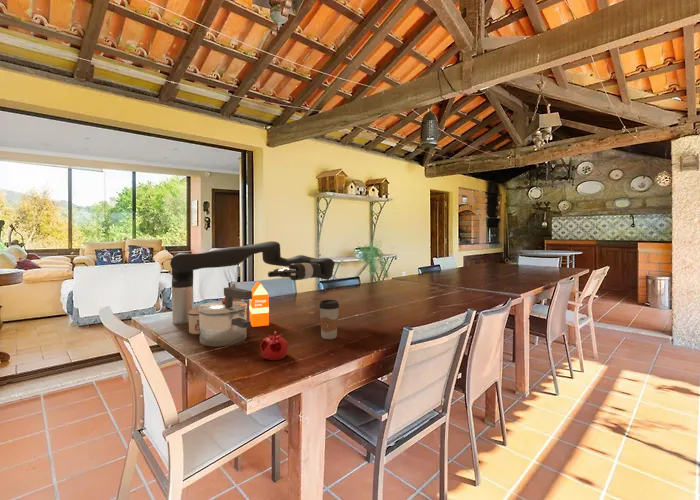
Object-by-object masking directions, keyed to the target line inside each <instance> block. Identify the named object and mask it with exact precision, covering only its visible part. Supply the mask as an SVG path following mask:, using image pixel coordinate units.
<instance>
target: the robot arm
mask: <svg viewBox="0 0 700 500" xmlns="http://www.w3.org/2000/svg"><path fill="white" fill-rule="evenodd" d="M260 253H262V261H263V262H264V263H265V264H267V265H270V266H279V267H283V268H276V269H273V270H272V271H268V272H267V277H269V278H273V277H274V278H289V279H290V280H292V281H301V280H307V279H312V278H317V279H321V280H326V281H328V280H330V279H332V277H333V273H334V269H335V261H334V260H333V259H332V258H330V257H329V258H328V257H324V258H323V257H322V258H317V257H311V256H308V255H303V254H302V255H299V254H297V255H295V256H293V257H289V258H284V257H282V256H281V255H282V254H281V244H280V242H278V241H272V240H271V241H270V240H269V241H263V242H260V243H253V244H250V245H249V244H248V245H240V246H231V247H222V248H218V249H217V248H216V249H212V250H208V251H206V252H205V251H204V252H201V253H200V252H199V253H187V252H178V253H176V254H175V255H173V256H172V257H171V259H170V265H169V266H170V268H171V269H172V271H171V273H172V274H171V300H172V301H171V302H172V303H171V304H172V305H171V306H172V308H171V309H172V324H175V325H182V324H183V325H184V324H189V314H188V312H189V311H190V310H193V309H194V308H195V306H194V304H195V303H194V298H195V297H194V271H196V270H200V269H207V268H209V269H210V268H214V269H215V268H225V267H226V268H227V267H234V266H238V265H240V264H241V263H243V262H244V261H245V260H247V259H249V257H251V256H253V255H256V254H260Z"/></svg>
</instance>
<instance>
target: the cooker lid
mask: <svg viewBox="0 0 700 500" xmlns="http://www.w3.org/2000/svg"><path fill="white" fill-rule="evenodd" d="M223 296H224V297H222V298H221V300H219V301H212V302H211V301H209V302H206V303H203V304H199V305H200V306H199V307H198V312H199V313H202V314H208V315H223V314H232V313H237V312H241V311H244V310H246V311H247V308H248V303H247V302H245V301H249V299H252V291H251V290H248V289H243V288H238V287H236V288H233V287H232V286H229V287H228V286H227V287H223ZM232 297H233V298H238V299H241V301H232Z"/></svg>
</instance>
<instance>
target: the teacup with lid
mask: <svg viewBox="0 0 700 500" xmlns="http://www.w3.org/2000/svg"><path fill="white" fill-rule="evenodd" d="M200 305H201V304H197V306H196V307H194V309H193V310H190V311H189V312H188V314H189V323H188V333H190V335H191V334H192V335H200V325H199V312H198V307H199V306H200Z"/></svg>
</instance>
